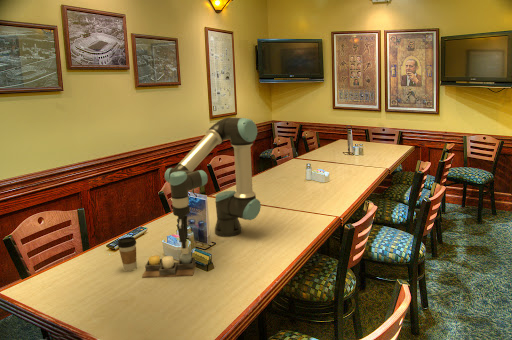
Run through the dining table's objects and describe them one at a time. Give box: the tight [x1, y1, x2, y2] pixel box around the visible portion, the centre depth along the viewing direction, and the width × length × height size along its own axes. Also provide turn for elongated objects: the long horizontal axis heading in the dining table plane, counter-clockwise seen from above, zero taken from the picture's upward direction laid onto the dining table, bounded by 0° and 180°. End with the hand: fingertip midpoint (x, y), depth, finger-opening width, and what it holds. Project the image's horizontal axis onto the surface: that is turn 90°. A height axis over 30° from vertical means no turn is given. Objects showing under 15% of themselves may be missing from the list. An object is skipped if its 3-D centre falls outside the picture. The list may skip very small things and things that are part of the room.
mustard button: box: [148, 255, 161, 265], centre depth 208 cm, size 5×5×4 cm
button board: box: [141, 256, 197, 279], centre depth 206 cm, size 23×13×3 cm, turn 89°
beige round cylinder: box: [161, 255, 174, 269], centre depth 203 cm, size 5×5×4 cm
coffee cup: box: [117, 236, 138, 272], centre depth 209 cm, size 8×8×15 cm
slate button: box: [179, 251, 192, 264], centre depth 207 cm, size 5×5×4 cm
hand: (185, 253), depth 207 cm, fingers closed
